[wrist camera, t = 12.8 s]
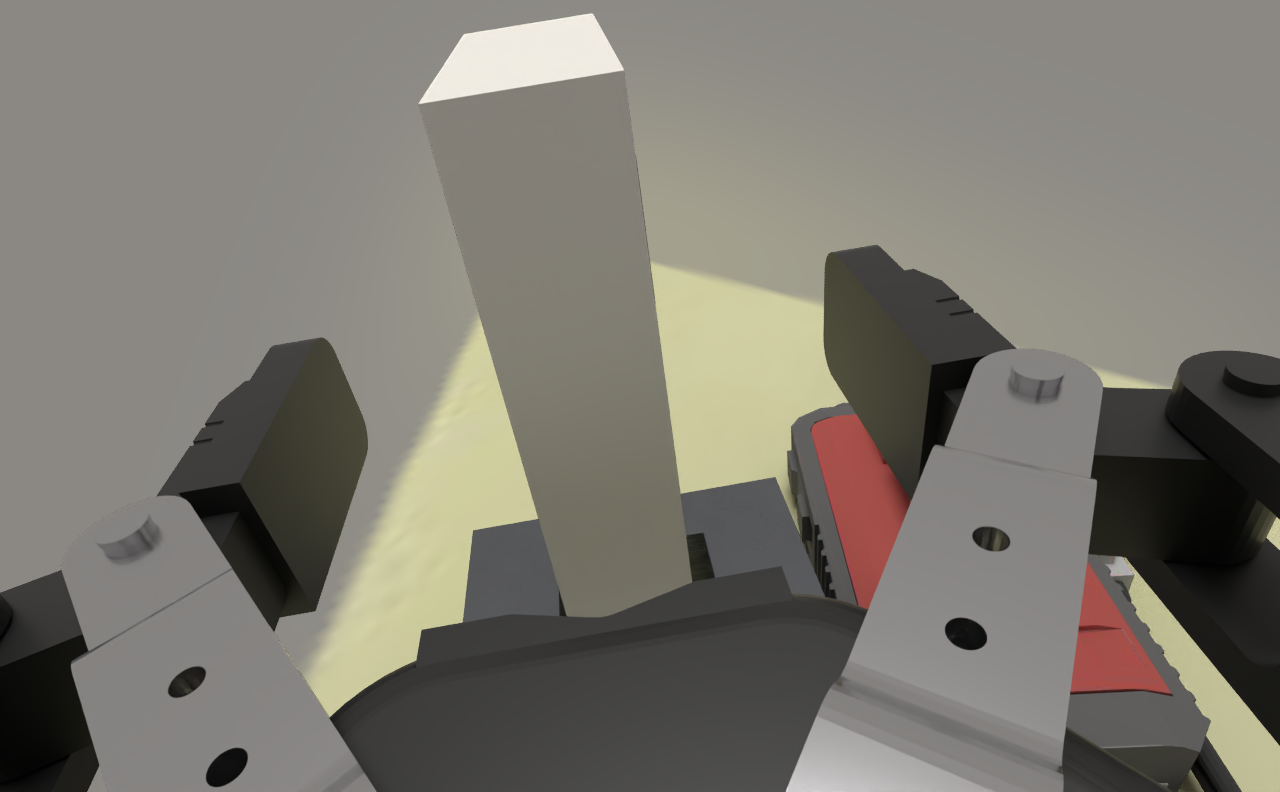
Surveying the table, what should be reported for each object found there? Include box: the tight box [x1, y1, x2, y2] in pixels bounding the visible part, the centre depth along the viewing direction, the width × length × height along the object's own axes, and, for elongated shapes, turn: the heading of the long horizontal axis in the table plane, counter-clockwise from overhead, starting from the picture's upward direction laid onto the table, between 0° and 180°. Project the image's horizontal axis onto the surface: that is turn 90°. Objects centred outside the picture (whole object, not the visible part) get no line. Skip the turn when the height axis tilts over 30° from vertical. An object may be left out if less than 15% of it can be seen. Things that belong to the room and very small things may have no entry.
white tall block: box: [419, 14, 692, 617], centre depth 13 cm, size 5×2×15 cm, turn 7°
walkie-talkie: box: [787, 403, 1242, 792], centre depth 21 cm, size 9×4×20 cm
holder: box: [463, 477, 825, 623], centre depth 16 cm, size 10×8×4 cm
